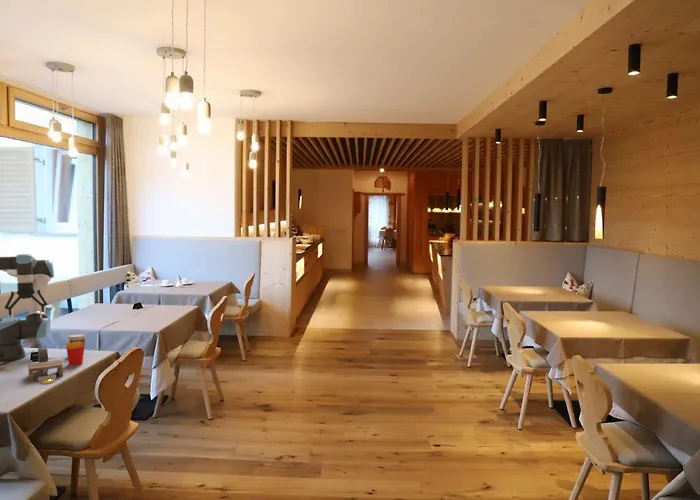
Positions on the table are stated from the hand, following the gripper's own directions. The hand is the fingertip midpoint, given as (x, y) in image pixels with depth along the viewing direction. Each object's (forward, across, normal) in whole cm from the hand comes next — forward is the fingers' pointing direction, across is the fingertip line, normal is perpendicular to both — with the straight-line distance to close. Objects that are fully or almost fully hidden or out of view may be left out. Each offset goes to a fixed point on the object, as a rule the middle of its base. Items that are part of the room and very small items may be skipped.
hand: (27, 319), depth 294 cm
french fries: (+27, +22, -10) cm, 36 cm away
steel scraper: (+27, +6, -22) cm, 35 cm away
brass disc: (+27, +6, -36) cm, 45 cm away
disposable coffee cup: (+27, +26, +10) cm, 39 cm away
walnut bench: (+27, +6, -25) cm, 37 cm away
